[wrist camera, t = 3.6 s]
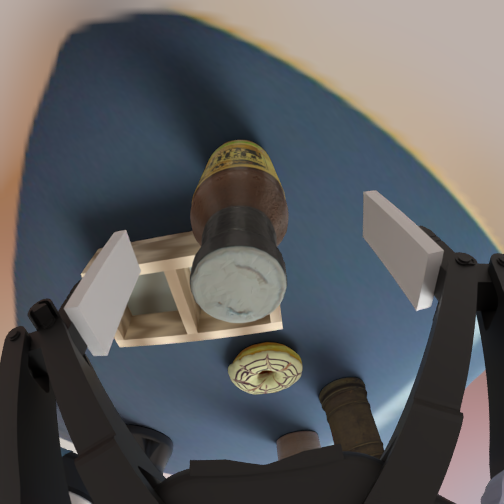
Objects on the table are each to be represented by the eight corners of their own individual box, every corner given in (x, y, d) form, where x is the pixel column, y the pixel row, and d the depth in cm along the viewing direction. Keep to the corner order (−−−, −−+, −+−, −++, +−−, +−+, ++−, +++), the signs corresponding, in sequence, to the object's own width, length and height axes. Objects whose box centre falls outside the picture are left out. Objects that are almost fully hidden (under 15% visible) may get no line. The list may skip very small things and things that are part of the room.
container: (329, 376, 47) (355, 468, 31) (372, 375, 48) (403, 458, 33) (311, 403, 51) (329, 487, 36) (351, 402, 53) (374, 478, 37)
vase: (268, 439, 58) (280, 548, 34) (307, 425, 56) (328, 540, 32) (288, 449, 63) (302, 546, 38) (324, 437, 60) (345, 537, 36)
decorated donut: (215, 363, 44) (214, 382, 40) (264, 325, 40) (267, 345, 37) (263, 387, 47) (265, 405, 44) (312, 355, 44) (317, 374, 41)
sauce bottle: (255, 127, 27) (297, 185, 10) (279, 182, 30) (341, 311, 13) (195, 154, 28) (138, 255, 11) (222, 206, 31) (213, 356, 14)
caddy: (129, 318, 38) (119, 347, 33) (98, 248, 33) (80, 273, 28) (276, 298, 38) (282, 329, 33) (265, 218, 32) (272, 242, 27)
